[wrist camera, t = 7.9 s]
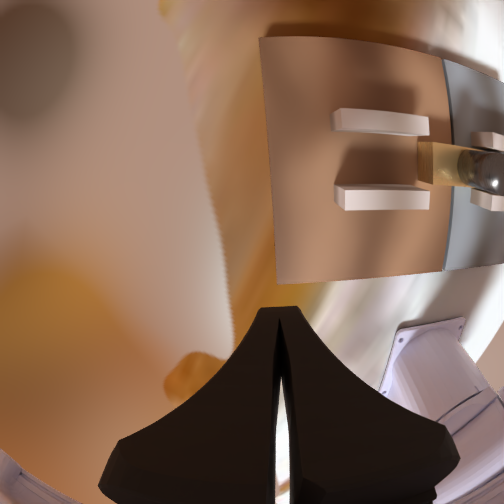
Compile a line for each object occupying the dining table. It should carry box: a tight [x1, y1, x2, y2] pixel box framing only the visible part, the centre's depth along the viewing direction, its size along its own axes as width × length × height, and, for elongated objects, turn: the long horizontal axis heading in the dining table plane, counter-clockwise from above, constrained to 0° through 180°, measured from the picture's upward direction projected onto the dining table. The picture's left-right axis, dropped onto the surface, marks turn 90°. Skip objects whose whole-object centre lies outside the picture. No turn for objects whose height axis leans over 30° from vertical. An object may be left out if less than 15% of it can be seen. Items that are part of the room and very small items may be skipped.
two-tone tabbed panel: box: [259, 36, 504, 284], centre depth 13 cm, size 20×15×4 cm
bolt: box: [417, 142, 504, 196], centre depth 11 cm, size 8×2×5 cm, turn 95°
